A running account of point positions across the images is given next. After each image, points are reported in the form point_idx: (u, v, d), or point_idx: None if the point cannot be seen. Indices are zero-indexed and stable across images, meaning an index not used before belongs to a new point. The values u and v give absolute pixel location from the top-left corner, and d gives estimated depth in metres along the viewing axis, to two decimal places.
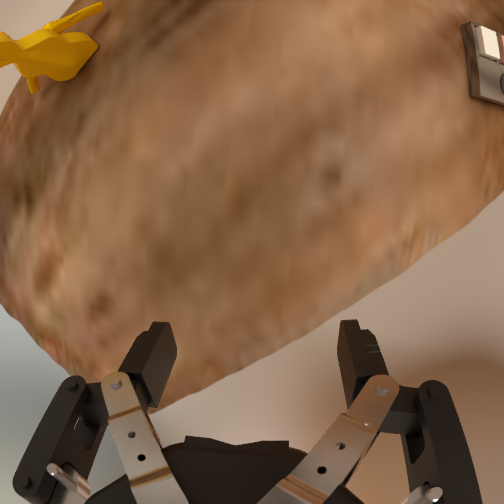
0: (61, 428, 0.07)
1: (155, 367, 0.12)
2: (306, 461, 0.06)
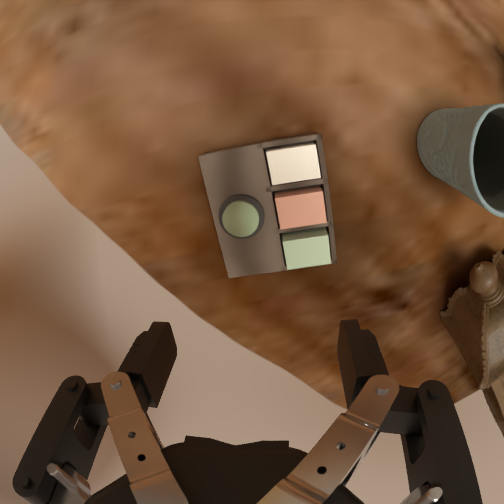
0: (61, 428, 0.07)
1: (155, 367, 0.12)
2: (306, 461, 0.06)
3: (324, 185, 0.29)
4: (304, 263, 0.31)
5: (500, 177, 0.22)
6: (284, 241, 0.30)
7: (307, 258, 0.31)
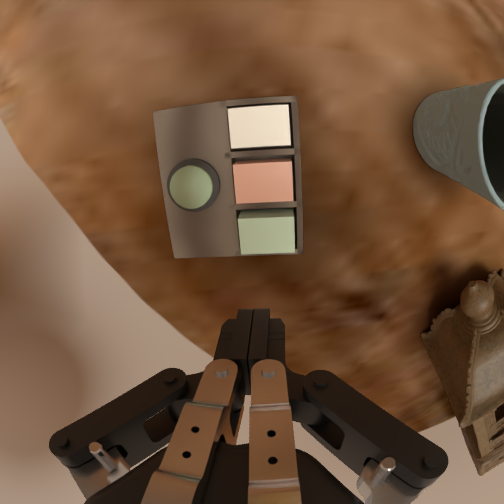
0: (129, 417, 0.08)
1: None
2: (253, 460, 0.06)
3: (295, 156, 0.24)
4: (262, 248, 0.26)
5: None
6: (240, 219, 0.25)
7: (266, 243, 0.25)
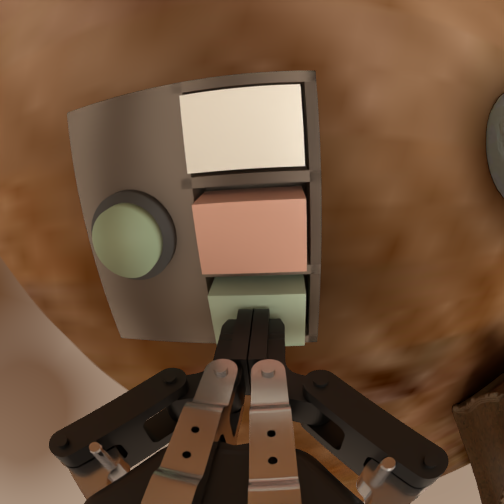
0: (130, 417, 0.08)
1: None
2: (253, 460, 0.06)
3: (312, 186, 0.13)
4: None
5: None
6: (211, 295, 0.14)
7: None
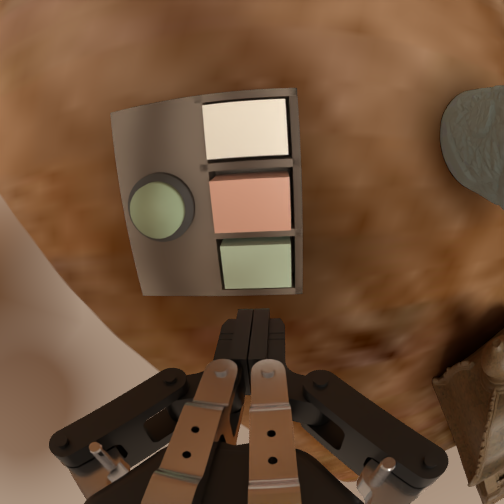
0: (129, 417, 0.08)
1: None
2: (253, 460, 0.06)
3: (294, 170, 0.18)
4: (251, 282, 0.21)
5: None
6: (222, 246, 0.20)
7: (256, 275, 0.20)
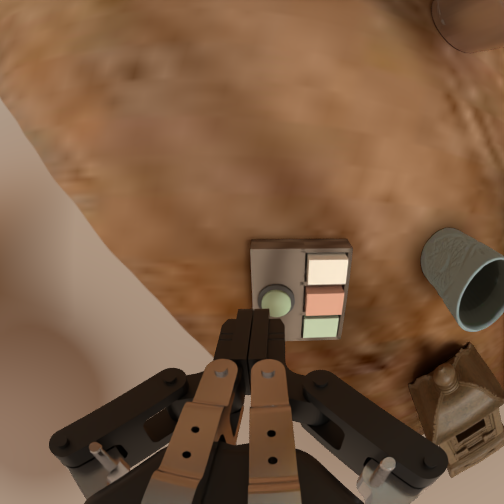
0: (130, 417, 0.08)
1: None
2: (253, 460, 0.06)
3: (345, 285, 0.36)
4: (316, 335, 0.39)
5: (479, 293, 0.32)
6: (305, 319, 0.38)
7: (319, 331, 0.39)
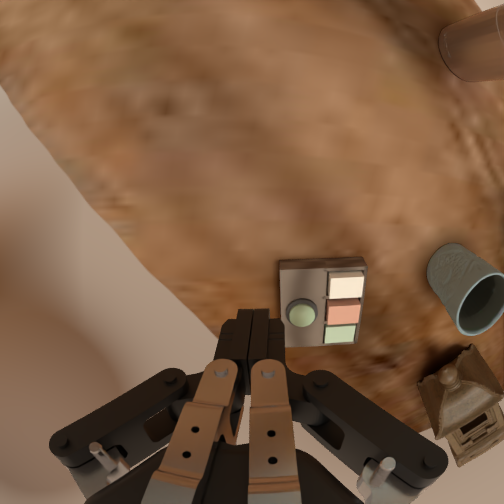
0: (130, 417, 0.08)
1: None
2: (253, 460, 0.06)
3: (361, 298, 0.41)
4: (336, 340, 0.44)
5: (478, 301, 0.36)
6: (327, 327, 0.43)
7: (339, 337, 0.44)
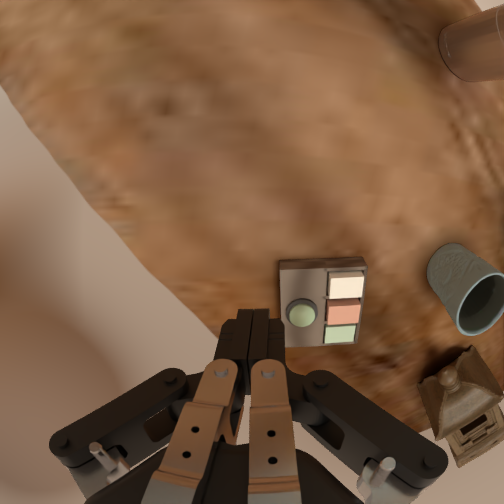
0: (129, 417, 0.08)
1: None
2: (253, 460, 0.06)
3: (361, 298, 0.41)
4: (336, 340, 0.44)
5: (478, 301, 0.36)
6: (327, 327, 0.43)
7: (339, 337, 0.44)
